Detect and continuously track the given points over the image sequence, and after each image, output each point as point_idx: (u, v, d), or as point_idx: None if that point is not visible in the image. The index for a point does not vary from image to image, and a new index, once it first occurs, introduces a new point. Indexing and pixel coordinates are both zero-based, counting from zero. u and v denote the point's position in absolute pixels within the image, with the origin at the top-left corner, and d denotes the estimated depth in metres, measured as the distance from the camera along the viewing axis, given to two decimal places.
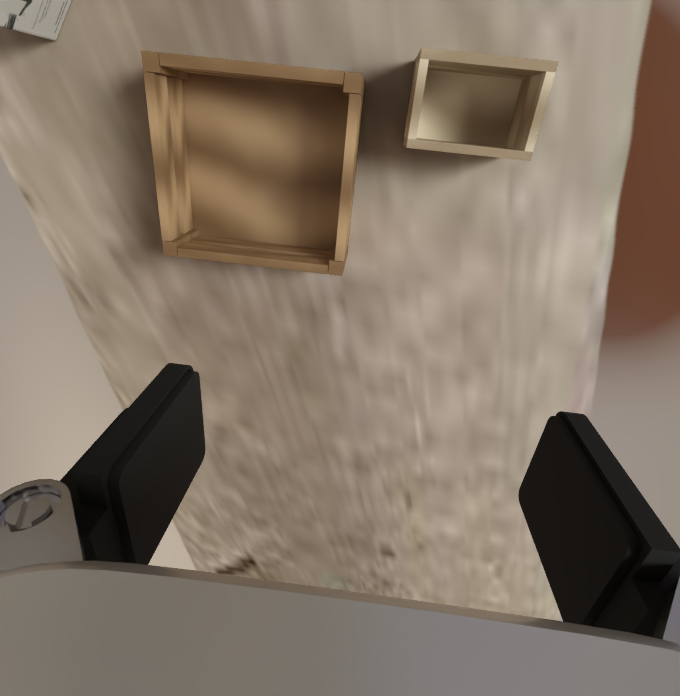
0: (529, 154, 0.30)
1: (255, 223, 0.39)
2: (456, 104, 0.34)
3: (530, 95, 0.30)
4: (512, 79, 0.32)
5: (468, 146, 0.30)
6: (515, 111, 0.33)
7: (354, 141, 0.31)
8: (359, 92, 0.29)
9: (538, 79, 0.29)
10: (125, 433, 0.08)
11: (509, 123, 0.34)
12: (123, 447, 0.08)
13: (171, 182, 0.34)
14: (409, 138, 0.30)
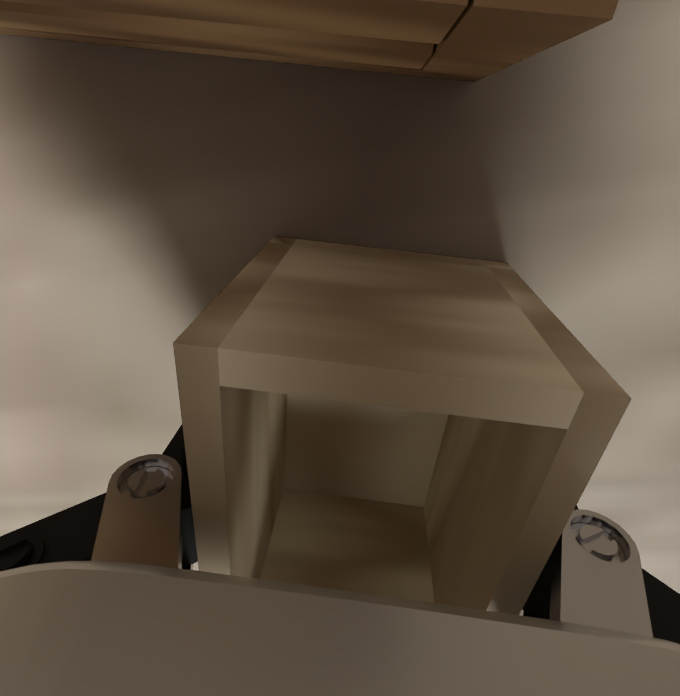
0: None
1: None
2: None
3: None
4: (425, 491, 0.14)
5: (224, 558, 0.08)
6: (358, 510, 0.14)
7: None
8: None
9: None
10: None
11: (334, 493, 0.14)
12: None
13: None
14: (222, 353, 0.06)
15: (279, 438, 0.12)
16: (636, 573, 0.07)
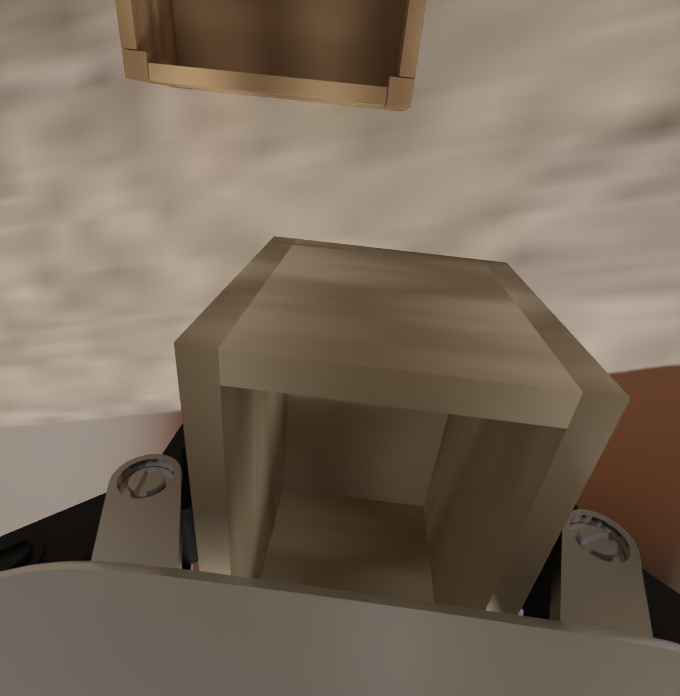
0: None
1: None
2: None
3: None
4: (425, 491, 0.14)
5: (224, 557, 0.08)
6: (358, 509, 0.14)
7: (326, 96, 0.21)
8: (387, 103, 0.21)
9: None
10: None
11: (334, 492, 0.14)
12: None
13: None
14: (222, 353, 0.06)
15: (279, 438, 0.12)
16: (636, 573, 0.07)
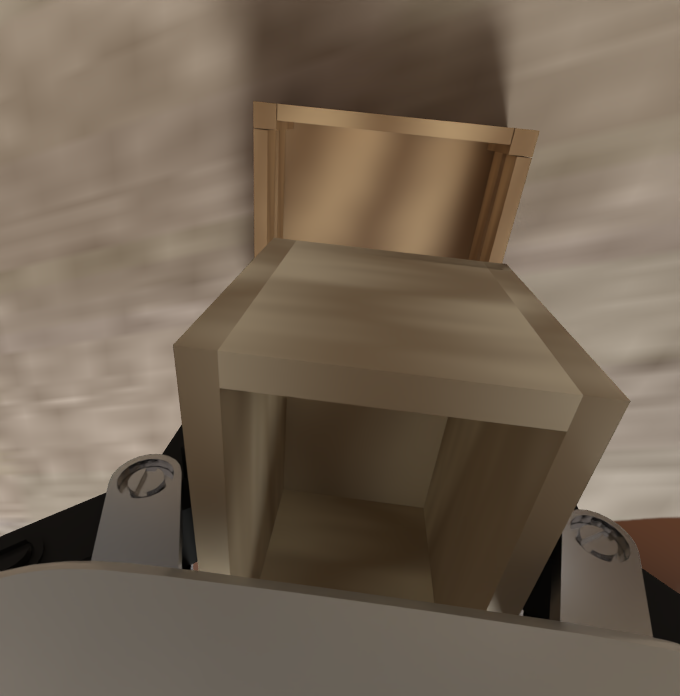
0: None
1: (307, 220, 0.29)
2: None
3: None
4: (425, 492, 0.14)
5: (224, 560, 0.08)
6: (358, 511, 0.14)
7: None
8: None
9: None
10: None
11: (334, 493, 0.14)
12: None
13: None
14: (221, 355, 0.06)
15: (279, 439, 0.12)
16: (636, 573, 0.07)
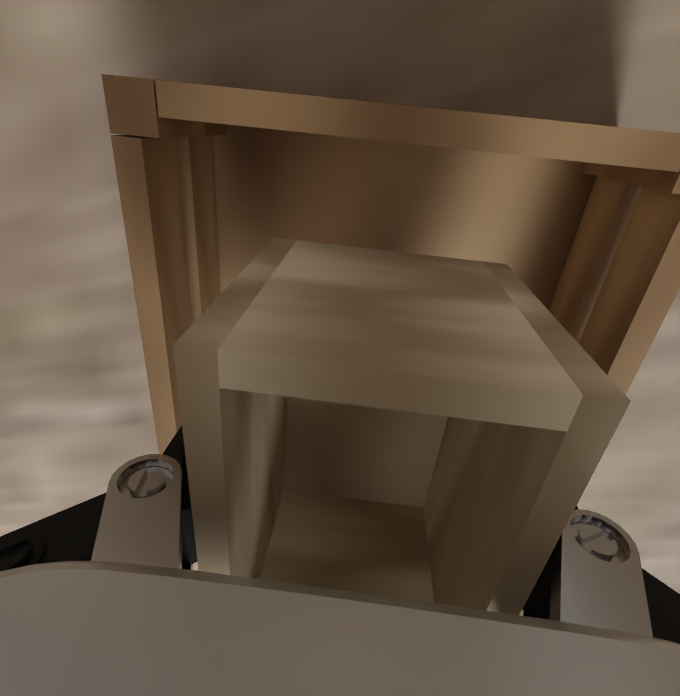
0: None
1: None
2: None
3: None
4: (425, 492, 0.14)
5: (224, 560, 0.08)
6: (358, 511, 0.14)
7: None
8: None
9: None
10: None
11: (334, 493, 0.14)
12: None
13: None
14: (221, 355, 0.06)
15: (279, 439, 0.12)
16: (636, 573, 0.07)
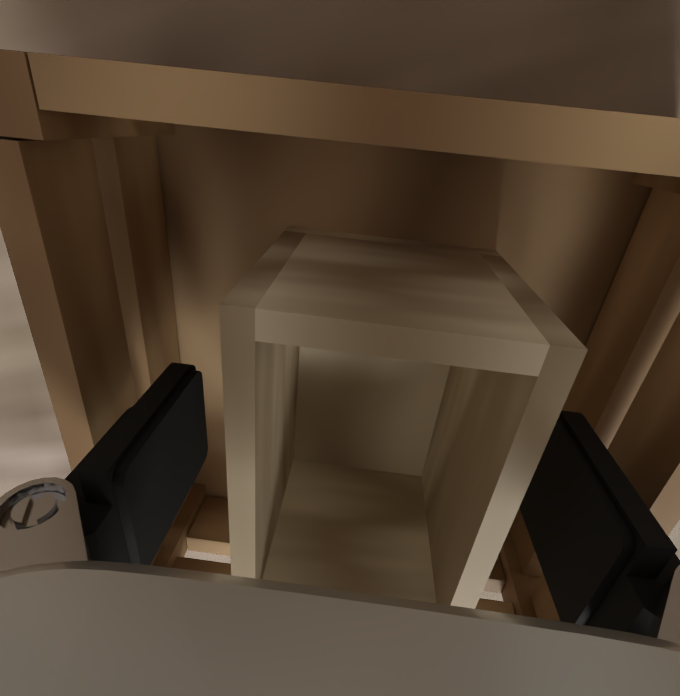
0: None
1: None
2: (383, 362, 0.13)
3: (389, 551, 0.13)
4: (423, 461, 0.15)
5: (250, 497, 0.09)
6: (362, 478, 0.15)
7: None
8: None
9: (420, 582, 0.12)
10: (129, 432, 0.08)
11: (340, 463, 0.15)
12: (127, 445, 0.08)
13: None
14: (257, 313, 0.07)
15: (291, 408, 0.13)
16: None
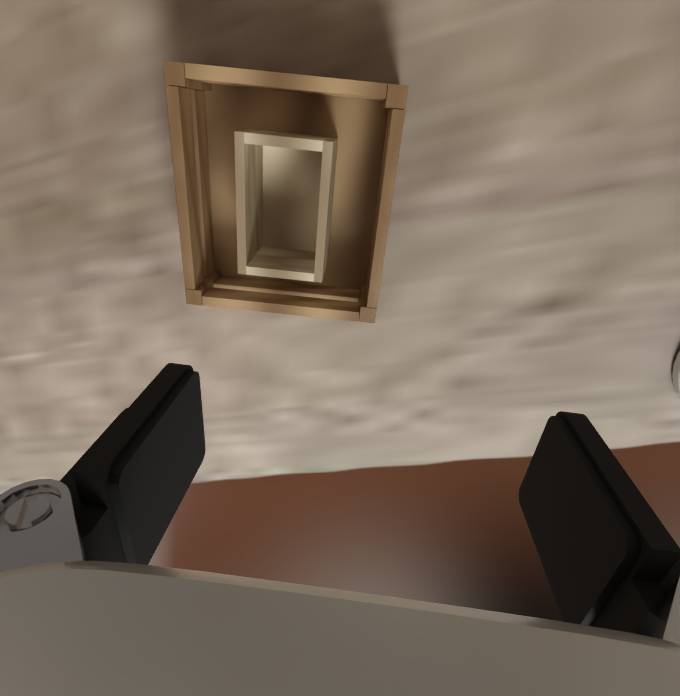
0: (243, 271, 0.29)
1: (231, 176, 0.32)
2: (297, 189, 0.32)
3: (300, 262, 0.31)
4: None
5: (243, 207, 0.27)
6: (293, 250, 0.34)
7: (320, 316, 0.32)
8: (360, 320, 0.32)
9: (310, 267, 0.30)
10: (125, 433, 0.08)
11: (283, 246, 0.34)
12: (123, 446, 0.08)
13: None
14: (244, 135, 0.25)
15: (259, 209, 0.32)
16: None
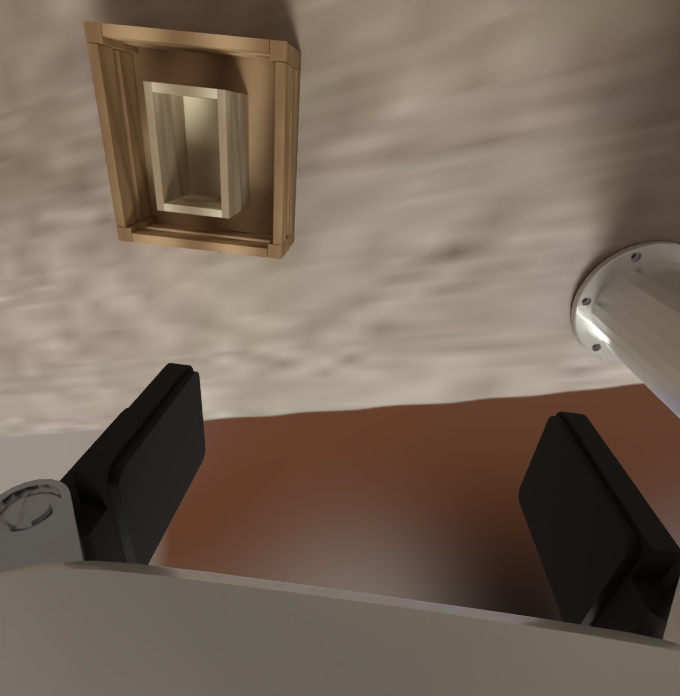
0: (162, 208, 0.34)
1: None
2: (216, 141, 0.36)
3: (215, 204, 0.36)
4: None
5: (157, 149, 0.32)
6: (215, 197, 0.38)
7: (233, 252, 0.36)
8: (268, 256, 0.36)
9: (222, 207, 0.35)
10: (125, 433, 0.08)
11: (208, 194, 0.39)
12: (123, 447, 0.08)
13: (172, 45, 0.31)
14: (152, 84, 0.30)
15: (182, 158, 0.36)
16: None
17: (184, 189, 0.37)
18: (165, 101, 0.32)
